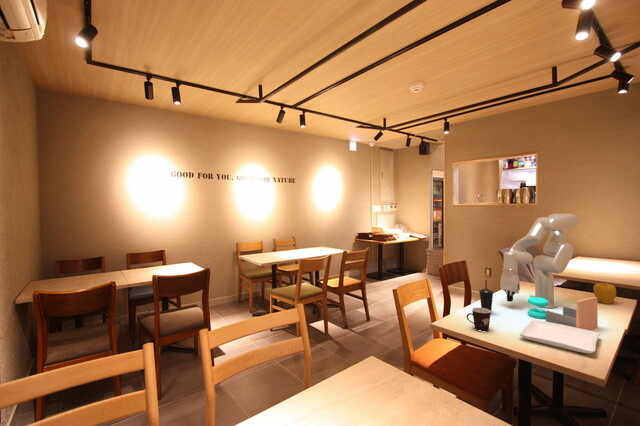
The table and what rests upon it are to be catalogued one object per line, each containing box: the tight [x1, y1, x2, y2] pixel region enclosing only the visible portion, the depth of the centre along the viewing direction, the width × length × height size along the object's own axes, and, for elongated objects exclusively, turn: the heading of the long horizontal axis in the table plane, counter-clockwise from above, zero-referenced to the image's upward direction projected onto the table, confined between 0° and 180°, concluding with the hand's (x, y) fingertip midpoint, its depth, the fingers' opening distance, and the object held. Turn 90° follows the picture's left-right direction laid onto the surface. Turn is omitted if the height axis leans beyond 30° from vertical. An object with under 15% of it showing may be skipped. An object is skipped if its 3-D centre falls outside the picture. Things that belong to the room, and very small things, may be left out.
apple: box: [592, 282, 617, 305], centre depth 198 cm, size 11×11×13 cm
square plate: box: [519, 319, 601, 354], centre depth 147 cm, size 27×27×4 cm
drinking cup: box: [478, 279, 494, 312], centre depth 183 cm, size 8×8×20 cm
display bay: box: [545, 296, 599, 331], centre depth 162 cm, size 15×16×16 cm
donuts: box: [527, 296, 549, 320], centre depth 178 cm, size 10×10×10 cm
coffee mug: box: [466, 307, 492, 332], centre depth 161 cm, size 12×9×10 cm
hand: (509, 301), depth 192 cm, fingers closed
